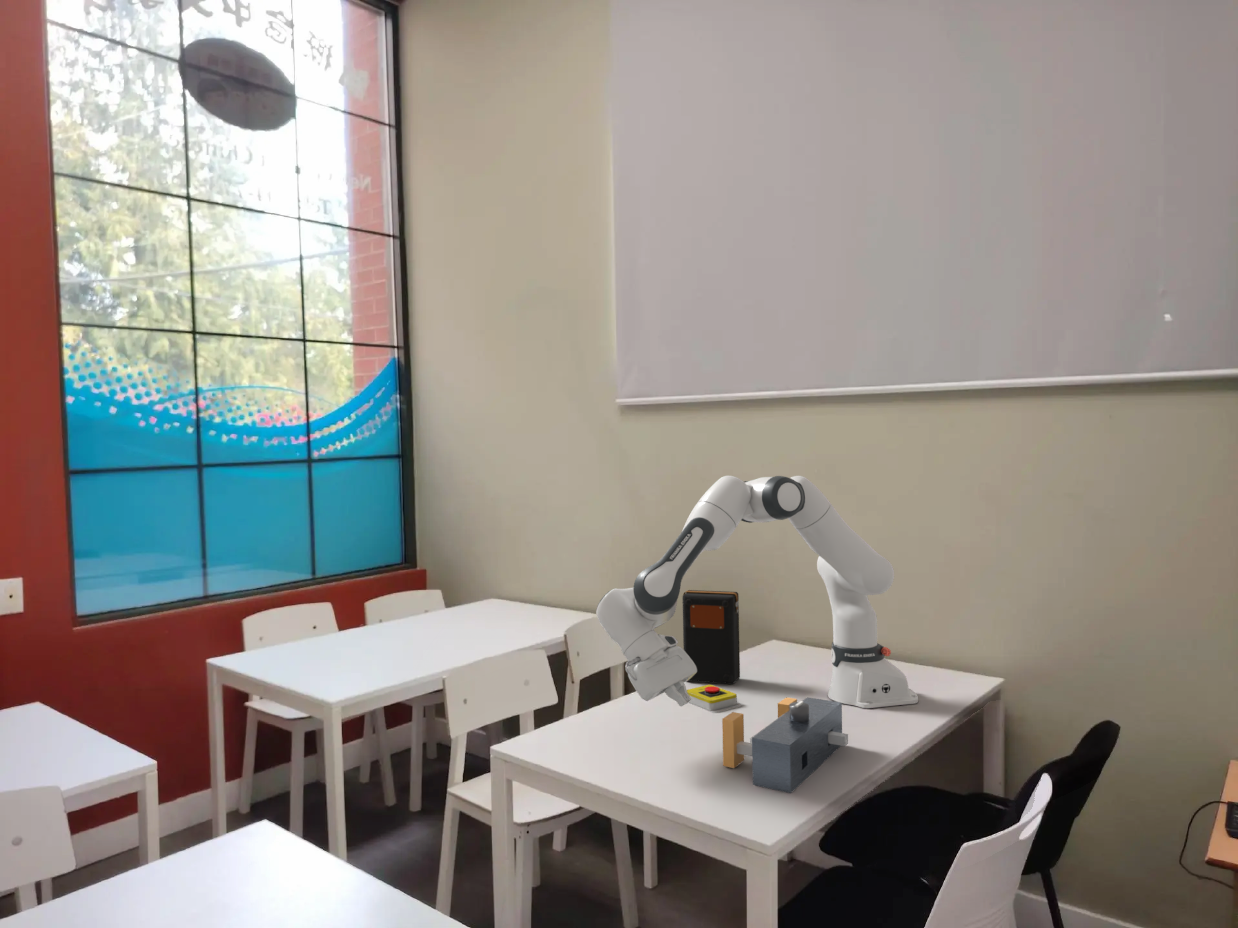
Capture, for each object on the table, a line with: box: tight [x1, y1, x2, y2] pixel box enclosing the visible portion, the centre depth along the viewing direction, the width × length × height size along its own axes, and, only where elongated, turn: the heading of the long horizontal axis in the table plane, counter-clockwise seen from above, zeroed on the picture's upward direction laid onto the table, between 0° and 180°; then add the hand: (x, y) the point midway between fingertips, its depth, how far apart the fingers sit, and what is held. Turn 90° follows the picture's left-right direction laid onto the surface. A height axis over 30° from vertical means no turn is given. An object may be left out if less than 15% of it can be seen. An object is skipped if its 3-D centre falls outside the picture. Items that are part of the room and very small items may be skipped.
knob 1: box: [721, 711, 752, 769], centre depth 181 cm, size 14×5×10 cm, turn 57°
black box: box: [682, 589, 741, 685], centre depth 247 cm, size 16×9×25 cm, turn 71°
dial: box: [789, 700, 809, 722], centre depth 184 cm, size 4×4×3 cm
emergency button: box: [686, 684, 742, 714], centre depth 227 cm, size 9×4×15 cm
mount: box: [749, 697, 843, 794], centre depth 185 cm, size 8×30×10 cm, turn 147°
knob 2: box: [777, 696, 849, 747], centre depth 191 cm, size 14×5×10 cm, turn 57°
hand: (686, 703), depth 190 cm, fingers closed
